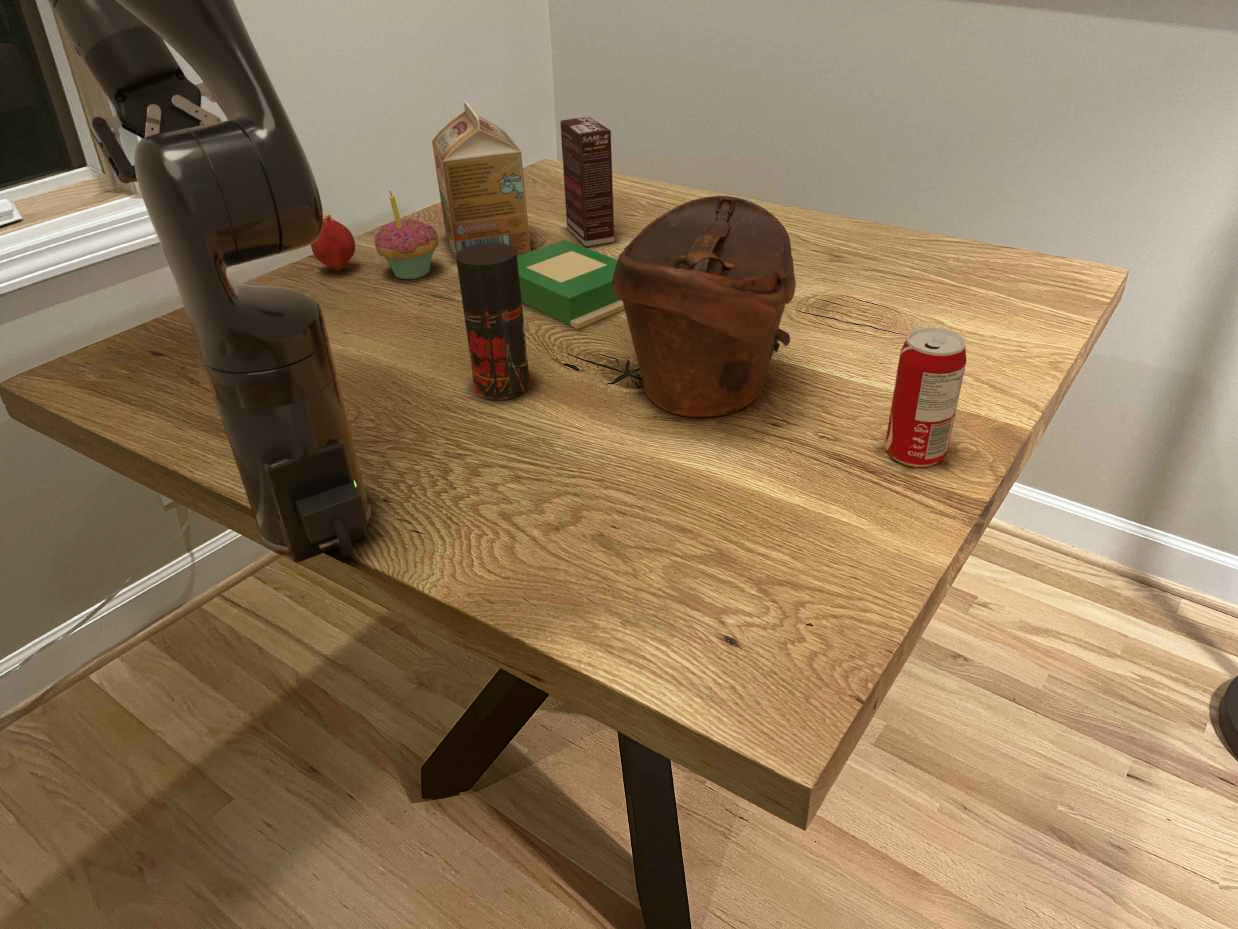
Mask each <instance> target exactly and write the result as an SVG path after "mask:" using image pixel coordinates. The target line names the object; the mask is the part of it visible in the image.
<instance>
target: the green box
mask: <svg viewBox="0 0 1238 929" xmlns="http://www.w3.org/2000/svg"><path fill="white" fill-rule="evenodd" d="M517 261H518V271H519V280H520V290H521V300H522V304H524V305H526V306H528V307H530V308H532V309H534V310H537V311H538V312H541V313H544V314H545V315H547V316H549V317H551V318H553V319H556V320H557V321H560V322H562V323H564V324H566V325H569V326H571V327H572V328H574V329H577V330H580V329H581V328H585V327H586V326H589V325H591V324H593V323H595V322H598V321H600V320H603V319H605V318H607V317H610V316H613V315H615V314H617V313H619V312H622V311H625V309H624V304H623V301H621V300H619V299H618V298H617V297H616V295H615V294H614V289H613V287H612V280H613V275H614V271H615V267H616V264H617V261H618V259H617V258H613V257H612V256H609V255H606V254H604V253H601V252H598V251H595V250H593V249H590V248H587V247H586V246H584V245H580V244H577V243H575V242H572V241H570V240H568V239H562V240H560V241H557V242H554V243H551V244H548V245H545V246H543V247H539V248H537V249H534V250H531V252H528V253H523V254H518V255H517Z"/></svg>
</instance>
